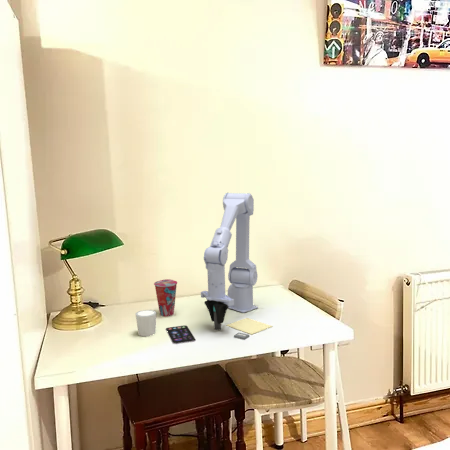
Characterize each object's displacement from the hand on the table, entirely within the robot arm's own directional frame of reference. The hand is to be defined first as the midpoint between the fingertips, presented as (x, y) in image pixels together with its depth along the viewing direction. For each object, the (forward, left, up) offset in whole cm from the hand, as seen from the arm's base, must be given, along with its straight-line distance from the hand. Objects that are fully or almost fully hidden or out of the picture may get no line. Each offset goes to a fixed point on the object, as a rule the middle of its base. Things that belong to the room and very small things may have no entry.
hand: (217, 321), depth 170 cm
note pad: (+6, +9, -2) cm, 11 cm away
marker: (0, 0, -2) cm, 2 cm away
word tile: (+11, +1, -2) cm, 11 cm away
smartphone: (-5, -12, -3) cm, 13 cm away
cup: (-25, -3, -3) cm, 25 cm away
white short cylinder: (-14, -19, -3) cm, 24 cm away
